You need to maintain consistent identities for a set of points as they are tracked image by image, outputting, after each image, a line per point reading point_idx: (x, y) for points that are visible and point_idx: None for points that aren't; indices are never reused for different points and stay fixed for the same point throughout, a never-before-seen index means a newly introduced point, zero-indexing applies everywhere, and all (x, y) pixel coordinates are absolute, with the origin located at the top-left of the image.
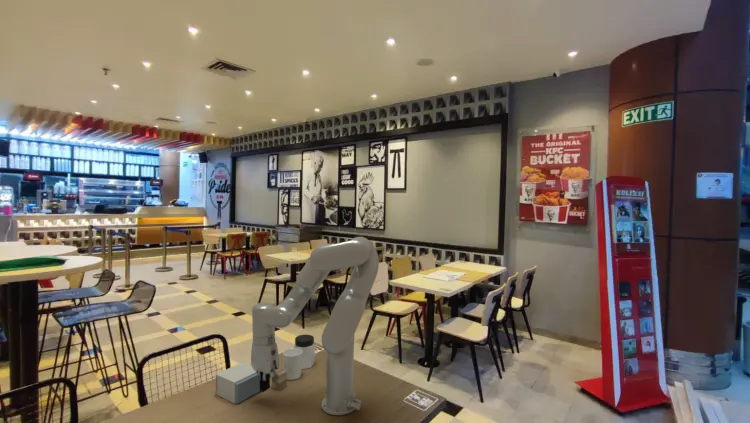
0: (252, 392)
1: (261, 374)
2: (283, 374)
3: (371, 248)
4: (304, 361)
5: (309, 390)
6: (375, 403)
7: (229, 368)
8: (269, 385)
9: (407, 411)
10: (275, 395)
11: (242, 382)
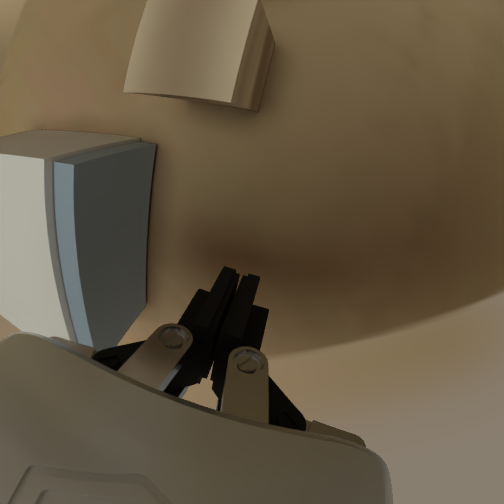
0: (138, 233)
1: (166, 387)
2: (250, 44)
3: None
4: None
5: (447, 65)
6: None
7: None
8: (256, 289)
9: None
10: (271, 171)
11: (93, 345)
